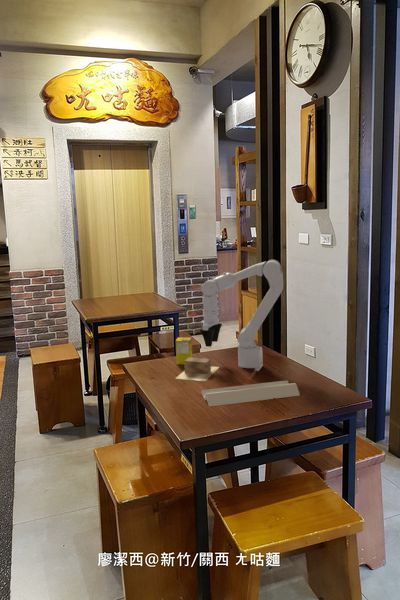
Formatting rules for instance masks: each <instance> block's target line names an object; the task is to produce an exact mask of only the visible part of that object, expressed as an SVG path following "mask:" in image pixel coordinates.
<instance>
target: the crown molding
mask: <svg viewBox="0 0 400 600" xmlns="http://www.w3.org/2000/svg"><path fill="white" fill-rule="evenodd" d="M200 394H201V395H202V397H203V399H204V401H206V402H207V405H208V407H216V406H223V405H224V406H225V405H232V404H241V403H248V402H249V403H250V402H258V401H266V400H274V398H275V399H281V398H291V397H298V396H301V395H300V391H299V387H298V385H297V383H296V382H293V383H289V380H279V381H278V380H277V381H271V382H261V383H252V384H244V385H243V384H242V385H234V386H233V385H232V386H227V387H225V386H224V387H217V388H209V389H201V391H200Z"/></svg>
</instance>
